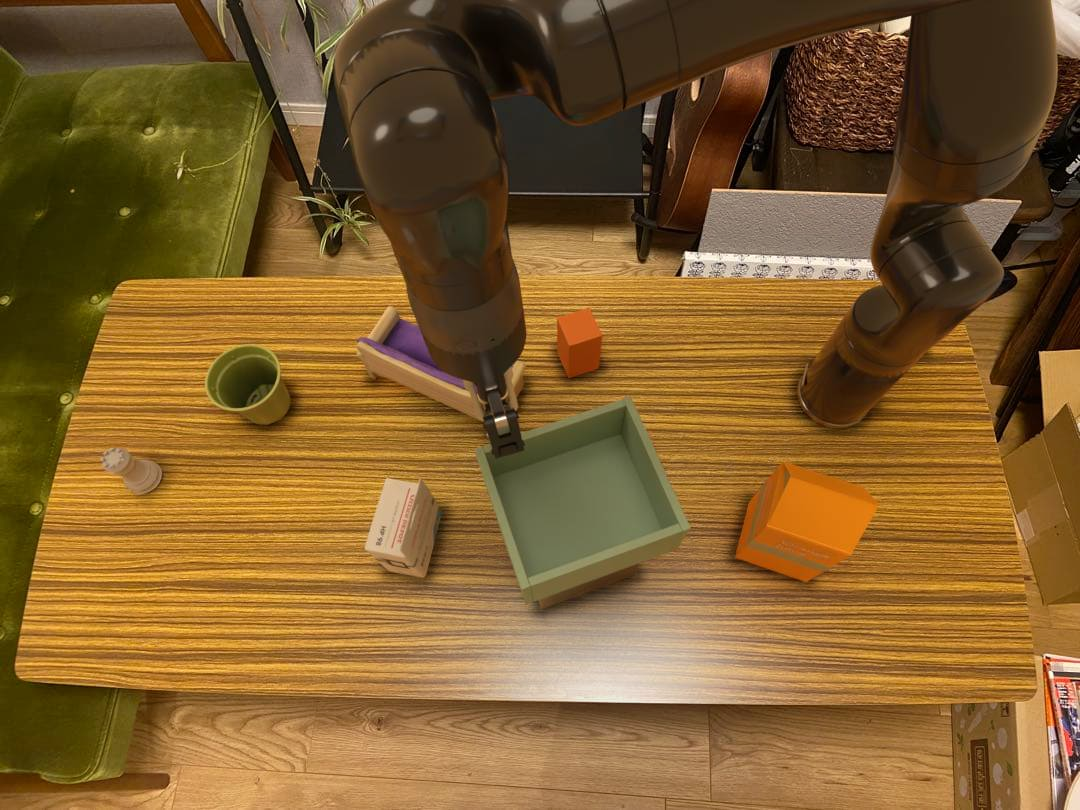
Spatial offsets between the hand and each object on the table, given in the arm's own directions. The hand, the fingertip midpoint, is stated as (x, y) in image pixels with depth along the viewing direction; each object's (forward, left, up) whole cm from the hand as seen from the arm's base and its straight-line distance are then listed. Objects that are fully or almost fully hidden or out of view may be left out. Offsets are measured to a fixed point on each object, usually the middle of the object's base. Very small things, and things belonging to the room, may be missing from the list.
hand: (494, 404), depth 63 cm
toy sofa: (+3, -19, -29) cm, 35 cm away
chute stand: (-5, +9, -29) cm, 30 cm away
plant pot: (+27, -24, -29) cm, 46 cm away
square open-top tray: (-5, +9, -11) cm, 15 cm away
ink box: (+13, +1, -29) cm, 32 cm away
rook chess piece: (+44, -19, -29) cm, 56 cm away
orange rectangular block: (-15, -16, -29) cm, 36 cm away
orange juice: (-29, +16, -29) cm, 44 cm away
